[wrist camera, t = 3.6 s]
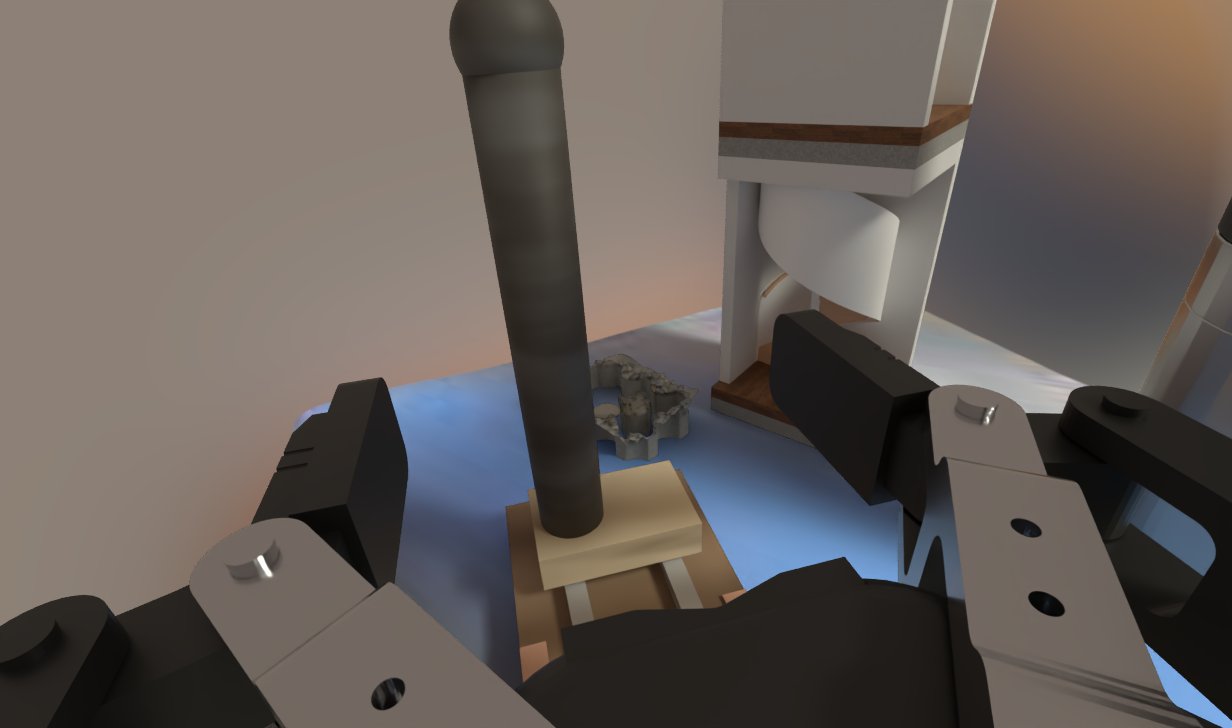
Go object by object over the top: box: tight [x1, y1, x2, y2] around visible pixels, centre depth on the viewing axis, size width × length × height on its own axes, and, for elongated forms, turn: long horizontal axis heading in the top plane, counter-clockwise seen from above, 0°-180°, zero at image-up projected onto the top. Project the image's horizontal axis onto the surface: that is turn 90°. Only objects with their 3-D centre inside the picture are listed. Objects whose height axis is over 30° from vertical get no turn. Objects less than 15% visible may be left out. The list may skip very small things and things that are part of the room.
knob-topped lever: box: [450, 0, 702, 590], centre depth 23 cm, size 5×8×24 cm, turn 104°
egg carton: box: [590, 354, 698, 461], centre depth 43 cm, size 11×8×4 cm
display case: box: [711, 0, 996, 448], centre depth 36 cm, size 11×11×35 cm
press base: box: [506, 469, 747, 682], centre depth 26 cm, size 18×11×5 cm, turn 14°
